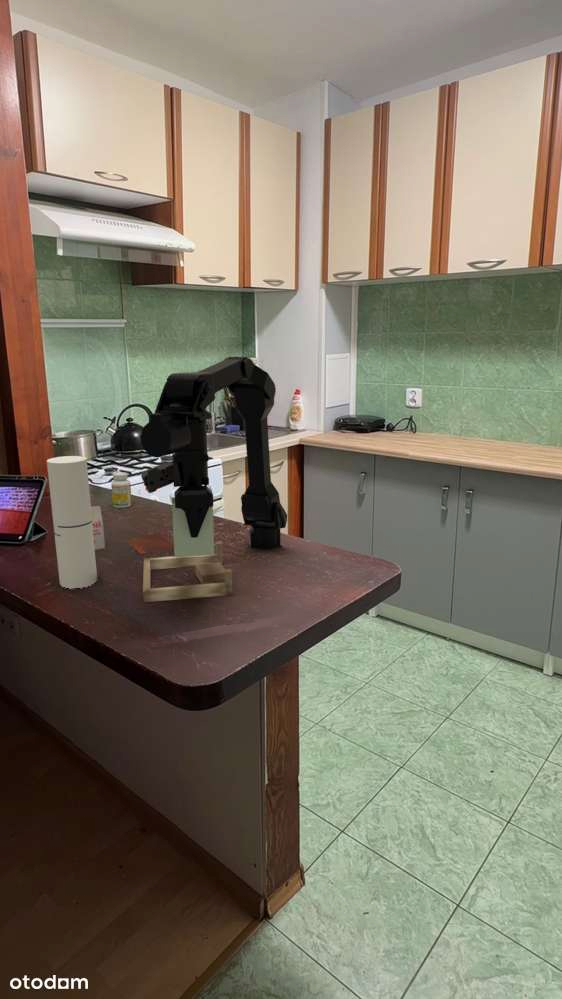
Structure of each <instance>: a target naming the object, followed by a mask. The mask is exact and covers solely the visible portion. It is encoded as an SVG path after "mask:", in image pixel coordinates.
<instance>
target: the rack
mask: <svg viewBox="0 0 562 999" xmlns="http://www.w3.org/2000/svg"><path fill="white" fill-rule="evenodd" d="M223 558H224V557H223V542H222V541H215V552H214V555H203V556H187V557H175V556H161V557H146V558H143V576H142V577H143V579H142V580H143V582H142V596H143V597H142V598H143V600H142V601H143V603H153V602H163V601H174V600H175V601H176V600H186V599H197V598H198V599H199V598H208V597H209V598H212V597H220V596H222V597H223V596H232V595H233V571H232V569H230V568H228V569H225V582H223V583H211V584H201V583H200V584H190V585H189V584H188V585H178V586H167V587H166V586H165V587H154V588H153V587H152V588H151V581H152V580H151V573H152V572H151V571H152V570H165V569H177V568H189V567H195V565H203V564H210V563H218V562H220V563H221V564H222V565H223V564H224V562H223V561H224V559H223Z"/></svg>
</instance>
